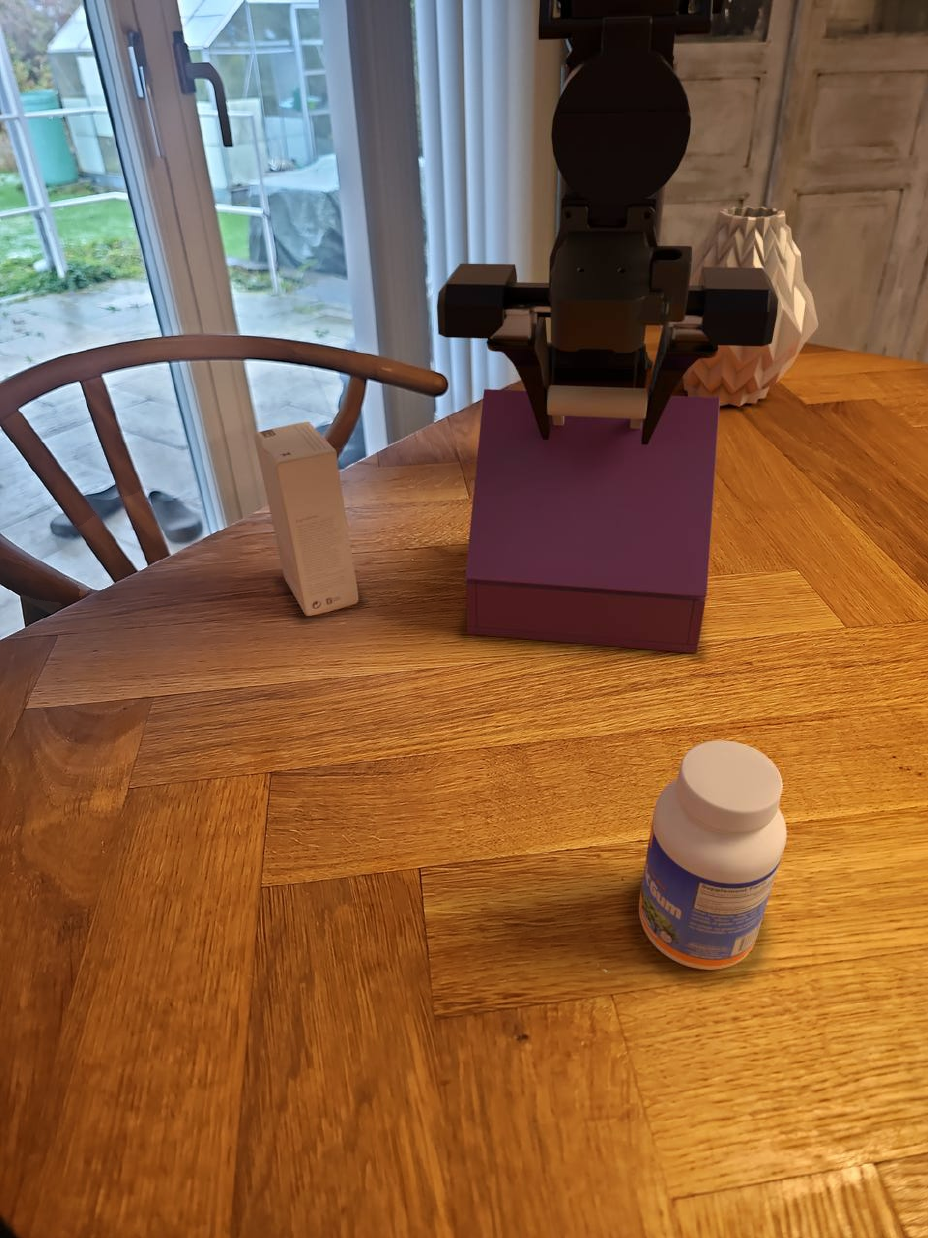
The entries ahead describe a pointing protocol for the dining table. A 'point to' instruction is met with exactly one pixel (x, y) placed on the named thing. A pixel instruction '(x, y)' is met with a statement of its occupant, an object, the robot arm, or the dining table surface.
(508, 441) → the case cover
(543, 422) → the robot arm
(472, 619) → the case
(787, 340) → the vase
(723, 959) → the pill bottle
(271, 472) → the cosmetic box
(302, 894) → the dining table surface
